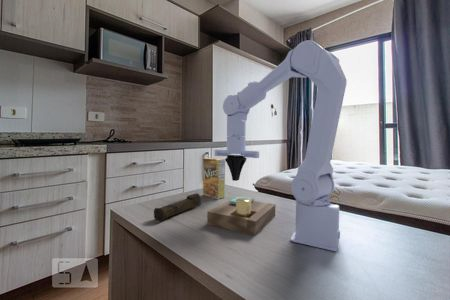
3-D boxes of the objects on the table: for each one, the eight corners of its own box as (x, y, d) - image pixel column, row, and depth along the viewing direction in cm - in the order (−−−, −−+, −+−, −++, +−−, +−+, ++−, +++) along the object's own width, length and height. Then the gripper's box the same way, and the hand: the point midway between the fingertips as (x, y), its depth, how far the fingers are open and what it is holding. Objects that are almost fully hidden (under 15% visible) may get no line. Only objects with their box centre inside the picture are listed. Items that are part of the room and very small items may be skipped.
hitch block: (275, 215, 67) (275, 204, 67) (255, 235, 53) (255, 221, 53) (234, 208, 74) (234, 197, 74) (207, 224, 60) (207, 211, 60)
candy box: (202, 195, 90) (202, 158, 89) (209, 193, 93) (209, 157, 93) (218, 199, 84) (218, 159, 84) (225, 197, 88) (225, 158, 87)
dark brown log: (162, 223, 61) (162, 207, 61) (152, 220, 63) (152, 204, 63) (206, 206, 77) (206, 193, 76) (197, 204, 79) (197, 191, 79)
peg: (253, 224, 60) (253, 199, 60) (247, 230, 57) (247, 203, 56) (240, 222, 62) (240, 197, 62) (233, 226, 59) (233, 200, 58)
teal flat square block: (254, 201, 69) (254, 198, 69) (246, 206, 64) (246, 202, 64) (238, 199, 72) (238, 196, 72) (229, 203, 67) (229, 200, 67)
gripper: (263, 136, 68) (262, 180, 69) (222, 136, 75) (222, 176, 76) (254, 136, 62) (253, 184, 63) (211, 136, 69) (210, 179, 70)
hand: (235, 180), depth 69 cm, fingers closed
